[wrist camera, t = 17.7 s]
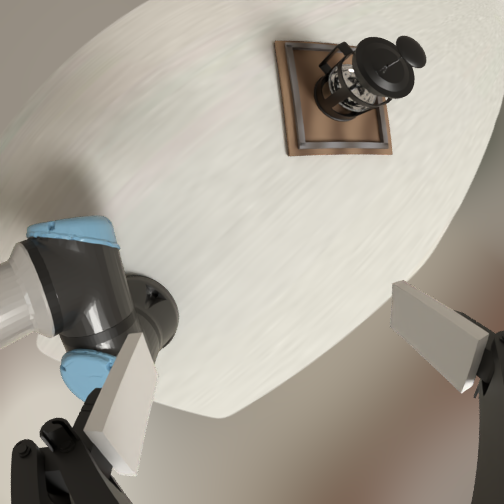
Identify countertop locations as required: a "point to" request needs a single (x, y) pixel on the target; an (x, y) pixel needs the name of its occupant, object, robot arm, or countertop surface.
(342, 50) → the french press
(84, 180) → the countertop surface
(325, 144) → the serving board
